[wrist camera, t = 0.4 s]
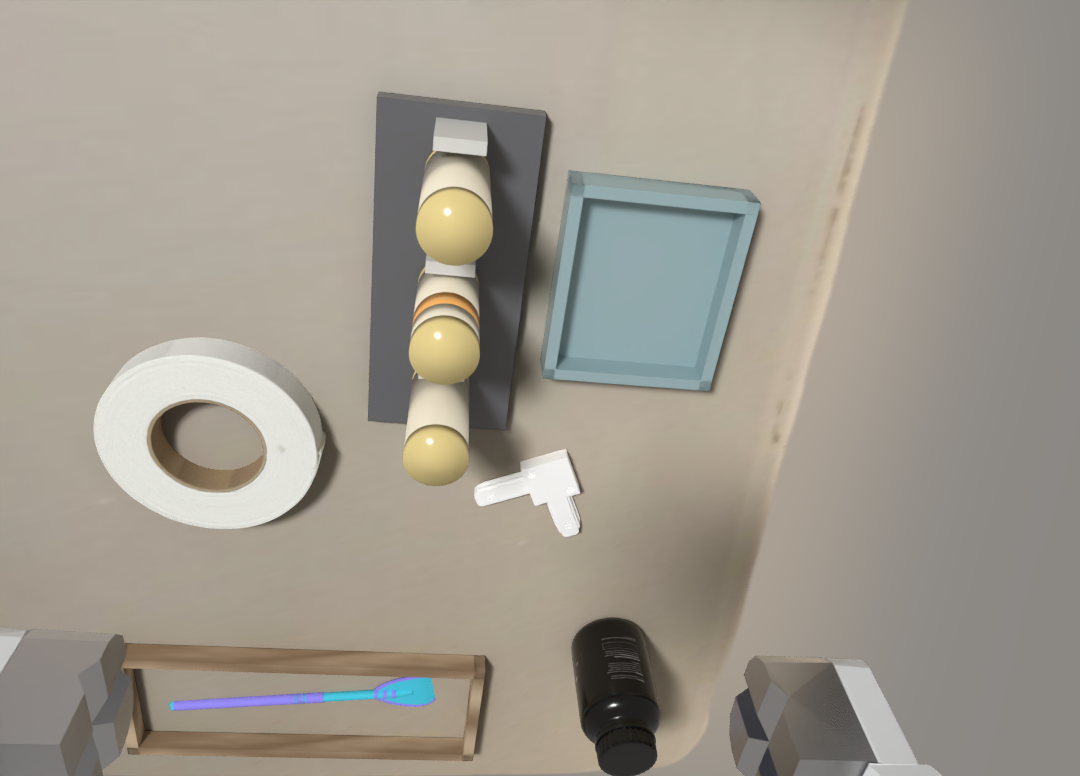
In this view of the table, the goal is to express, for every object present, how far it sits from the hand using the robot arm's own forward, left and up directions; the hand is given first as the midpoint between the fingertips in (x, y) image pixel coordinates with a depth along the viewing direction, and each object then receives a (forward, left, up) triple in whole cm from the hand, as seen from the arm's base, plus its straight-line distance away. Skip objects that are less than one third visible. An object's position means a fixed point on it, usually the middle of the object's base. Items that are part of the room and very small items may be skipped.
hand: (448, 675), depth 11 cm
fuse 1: (+7, 0, -44) cm, 45 cm away
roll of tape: (+29, -16, -46) cm, 56 cm away
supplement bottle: (+50, +17, -45) cm, 70 cm away
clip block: (+15, 0, -45) cm, 48 cm away
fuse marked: (+15, 0, -44) cm, 46 cm away
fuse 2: (+22, 0, -44) cm, 49 cm away
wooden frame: (+59, -10, -45) cm, 75 cm away
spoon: (+59, -10, -46) cm, 75 cm away
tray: (+14, +13, -45) cm, 49 cm away
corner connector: (+34, +8, -46) cm, 58 cm away
